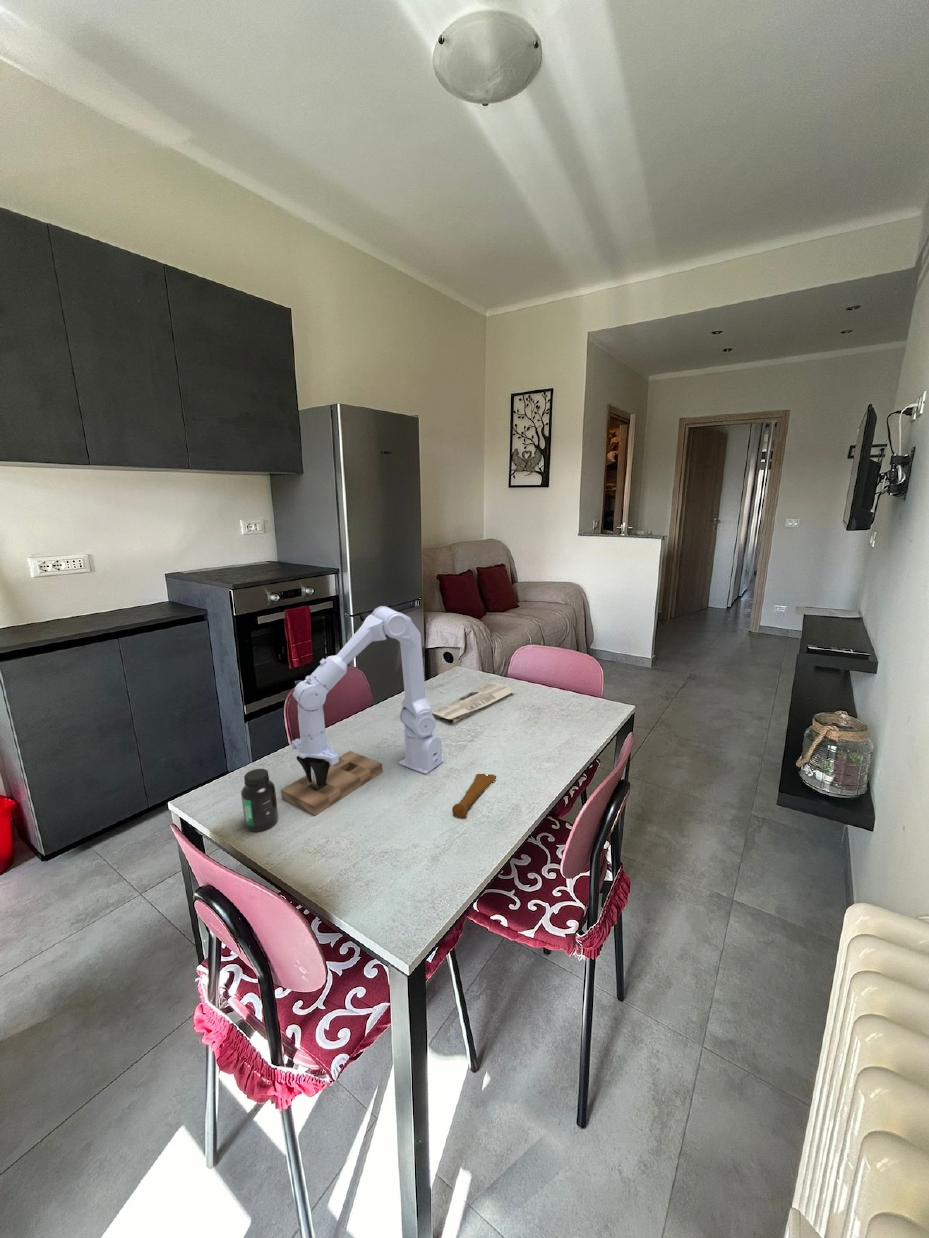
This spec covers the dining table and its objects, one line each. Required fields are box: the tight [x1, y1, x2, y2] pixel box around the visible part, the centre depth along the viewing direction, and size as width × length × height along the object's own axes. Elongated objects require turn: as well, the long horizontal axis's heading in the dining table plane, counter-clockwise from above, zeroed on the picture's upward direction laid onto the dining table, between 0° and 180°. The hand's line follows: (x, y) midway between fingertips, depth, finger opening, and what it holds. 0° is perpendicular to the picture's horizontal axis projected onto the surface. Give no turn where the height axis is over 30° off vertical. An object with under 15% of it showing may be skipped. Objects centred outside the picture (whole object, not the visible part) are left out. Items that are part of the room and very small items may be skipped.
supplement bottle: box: [240, 768, 279, 833], centre depth 108 cm, size 7×7×12 cm
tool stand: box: [280, 750, 384, 817], centre depth 123 cm, size 12×22×2 cm, turn 146°
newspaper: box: [432, 682, 515, 724], centre depth 170 cm, size 35×12×4 cm, turn 142°
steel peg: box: [310, 765, 324, 791], centre depth 119 cm, size 3×3×8 cm
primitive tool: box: [451, 773, 497, 819], centre depth 118 cm, size 19×6×4 cm, turn 160°
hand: (317, 782), depth 119 cm, fingers closed on steel peg, 3 cm apart
